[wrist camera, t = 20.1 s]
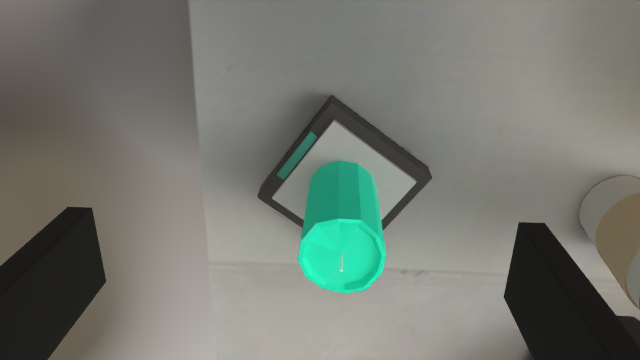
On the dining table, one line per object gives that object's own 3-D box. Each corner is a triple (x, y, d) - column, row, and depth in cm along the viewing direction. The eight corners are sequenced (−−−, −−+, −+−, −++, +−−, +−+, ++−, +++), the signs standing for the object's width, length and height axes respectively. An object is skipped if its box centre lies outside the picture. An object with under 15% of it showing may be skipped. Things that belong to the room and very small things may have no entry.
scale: (261, 186, 46) (255, 200, 44) (332, 94, 42) (331, 103, 40) (352, 248, 49) (353, 265, 46) (428, 167, 45) (433, 180, 42)
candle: (390, 200, 43) (405, 281, 32) (333, 234, 44) (329, 322, 34) (351, 147, 41) (354, 213, 30) (294, 184, 43) (276, 260, 32)
